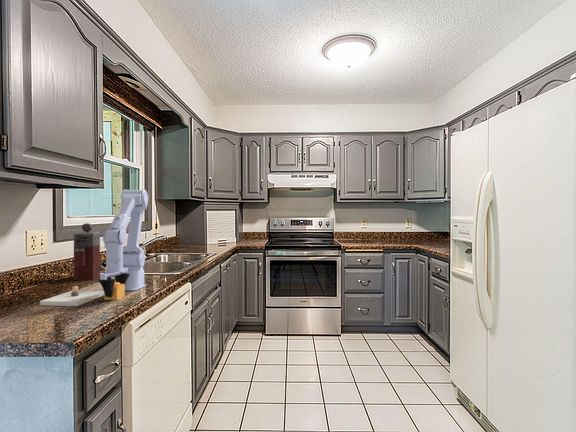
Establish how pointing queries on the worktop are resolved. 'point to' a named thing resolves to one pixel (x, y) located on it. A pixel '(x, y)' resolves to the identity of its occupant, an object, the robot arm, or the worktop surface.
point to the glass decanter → (86, 254)
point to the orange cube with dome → (117, 291)
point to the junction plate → (73, 297)
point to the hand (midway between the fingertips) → (114, 294)
